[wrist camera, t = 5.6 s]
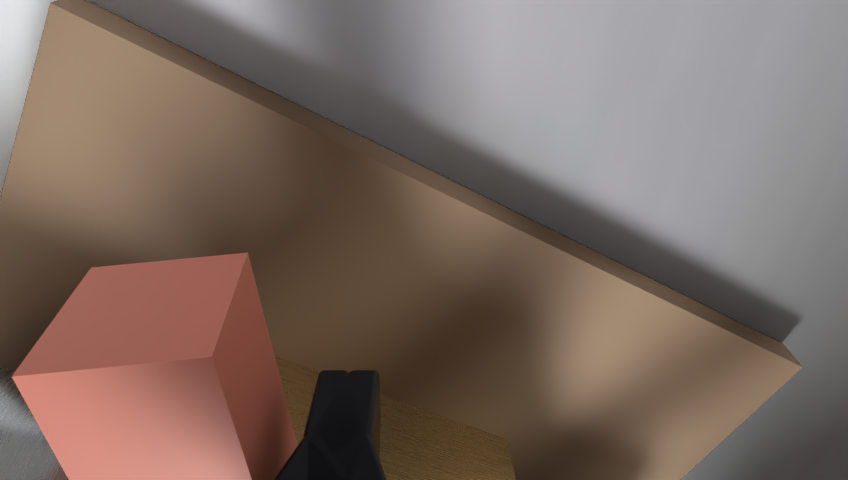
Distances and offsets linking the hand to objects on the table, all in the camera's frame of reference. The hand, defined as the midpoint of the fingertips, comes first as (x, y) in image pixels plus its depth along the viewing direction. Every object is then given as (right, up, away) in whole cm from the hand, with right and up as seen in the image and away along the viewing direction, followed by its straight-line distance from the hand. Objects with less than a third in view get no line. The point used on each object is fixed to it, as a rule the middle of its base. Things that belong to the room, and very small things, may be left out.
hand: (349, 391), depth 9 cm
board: (-1, -3, +10) cm, 10 cm away
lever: (-2, -3, +2) cm, 4 cm away
